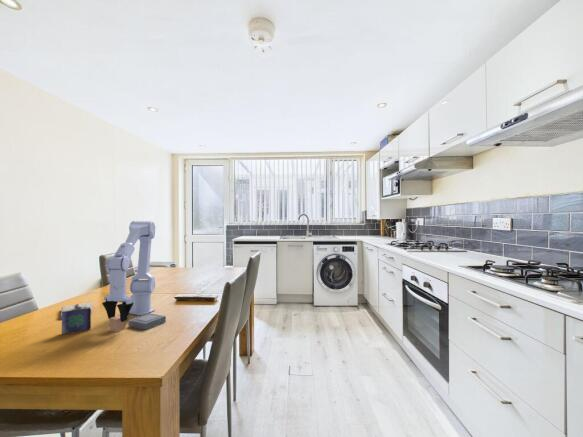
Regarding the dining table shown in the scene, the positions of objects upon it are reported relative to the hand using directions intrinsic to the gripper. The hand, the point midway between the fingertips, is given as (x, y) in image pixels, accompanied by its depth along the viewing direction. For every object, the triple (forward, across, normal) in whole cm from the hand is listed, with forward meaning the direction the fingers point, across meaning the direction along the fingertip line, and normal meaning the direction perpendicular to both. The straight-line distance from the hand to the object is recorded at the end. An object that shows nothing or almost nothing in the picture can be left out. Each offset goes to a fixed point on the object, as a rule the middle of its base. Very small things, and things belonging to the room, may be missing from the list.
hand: (117, 319), depth 112 cm
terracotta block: (+4, 0, 0) cm, 4 cm away
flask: (+4, -13, -8) cm, 16 cm away
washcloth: (+5, -39, +6) cm, 40 cm away
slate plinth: (+4, +6, +9) cm, 12 cm away
